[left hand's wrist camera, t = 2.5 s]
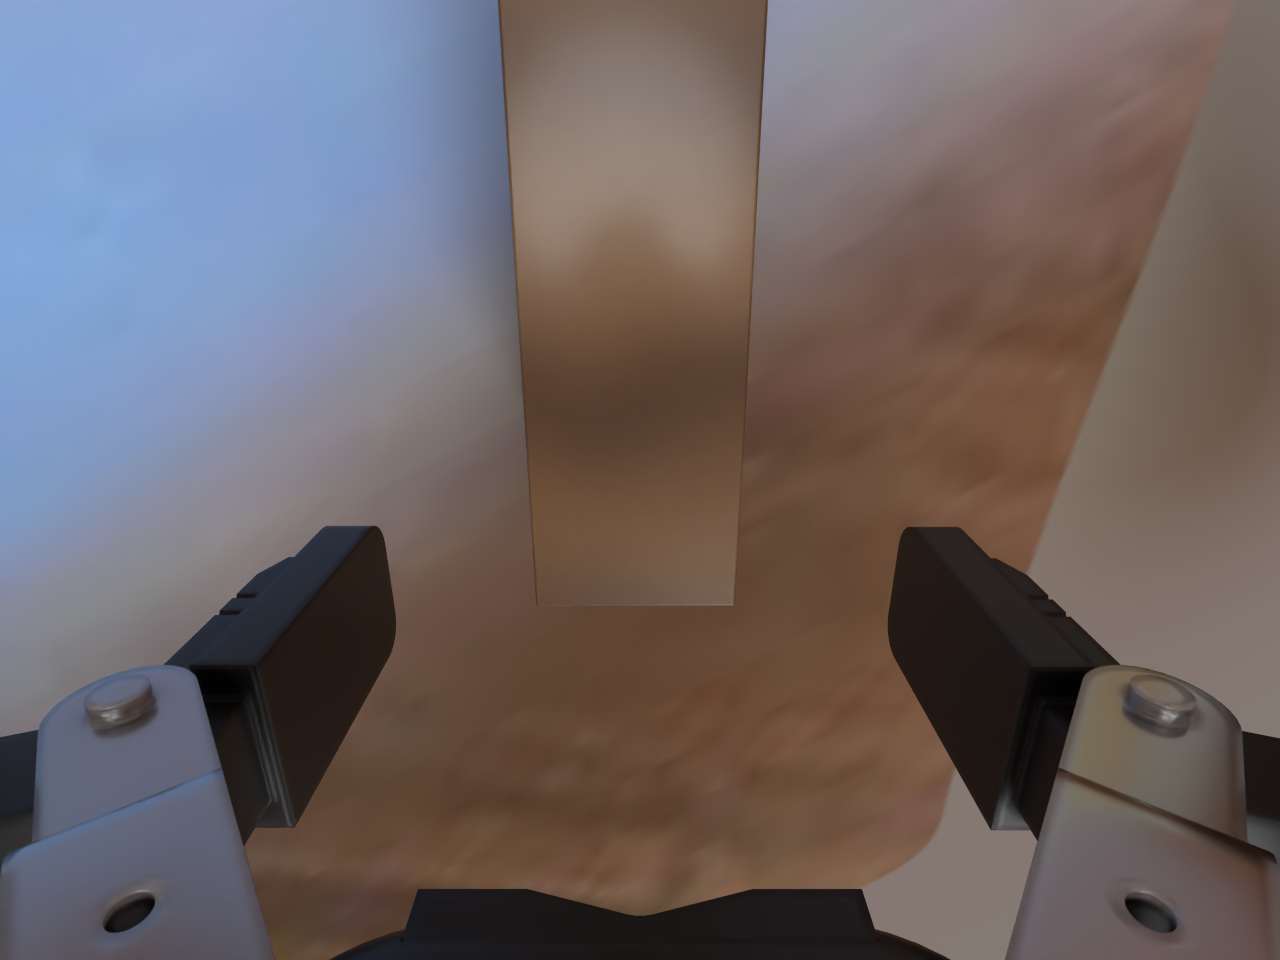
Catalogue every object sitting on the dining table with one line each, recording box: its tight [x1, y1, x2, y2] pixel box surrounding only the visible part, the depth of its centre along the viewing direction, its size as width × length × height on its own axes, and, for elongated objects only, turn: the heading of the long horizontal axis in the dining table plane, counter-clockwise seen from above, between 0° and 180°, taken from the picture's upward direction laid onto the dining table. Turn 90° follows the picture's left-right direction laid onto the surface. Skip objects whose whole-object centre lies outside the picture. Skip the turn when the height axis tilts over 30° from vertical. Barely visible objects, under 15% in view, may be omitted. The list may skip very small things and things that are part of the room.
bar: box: [498, 0, 768, 606], centre depth 18 cm, size 24×5×8 cm, turn 0°
